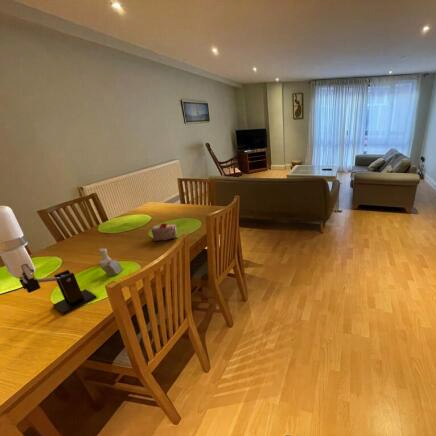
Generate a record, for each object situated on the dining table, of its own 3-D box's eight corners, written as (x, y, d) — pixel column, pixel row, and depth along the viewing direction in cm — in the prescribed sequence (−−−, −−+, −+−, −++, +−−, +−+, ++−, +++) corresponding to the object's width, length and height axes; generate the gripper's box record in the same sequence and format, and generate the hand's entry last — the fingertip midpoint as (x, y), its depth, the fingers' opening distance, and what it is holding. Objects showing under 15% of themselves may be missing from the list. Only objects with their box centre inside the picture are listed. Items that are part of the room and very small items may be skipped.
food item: (178, 234, 157) (175, 220, 153) (177, 239, 150) (174, 225, 146) (155, 237, 153) (152, 223, 149) (153, 242, 146) (149, 228, 142)
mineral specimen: (100, 272, 116) (100, 257, 115) (122, 270, 121) (122, 255, 119) (98, 279, 110) (97, 264, 108) (120, 277, 115) (120, 262, 113)
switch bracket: (63, 315, 92) (50, 285, 86) (53, 306, 96) (40, 278, 90) (96, 297, 100) (86, 270, 95) (86, 291, 105) (75, 264, 99)
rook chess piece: (101, 265, 123) (96, 252, 120) (102, 261, 126) (97, 248, 123) (111, 263, 125) (107, 249, 122) (112, 259, 129) (108, 246, 126)
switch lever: (23, 288, 82) (25, 279, 82) (19, 285, 84) (21, 276, 84) (70, 282, 94) (72, 274, 94) (67, 280, 95) (68, 272, 95)
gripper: (-16, 242, 79) (9, 287, 86) (1, 254, 72) (26, 302, 79) (16, 233, 85) (37, 276, 92) (34, 244, 78) (55, 289, 85)
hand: (32, 288), depth 86 cm, fingers closed on switch lever, 3 cm apart
